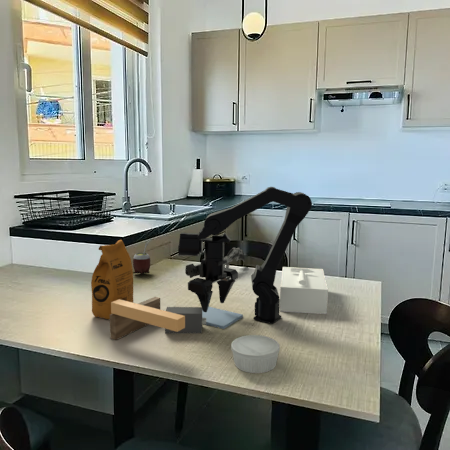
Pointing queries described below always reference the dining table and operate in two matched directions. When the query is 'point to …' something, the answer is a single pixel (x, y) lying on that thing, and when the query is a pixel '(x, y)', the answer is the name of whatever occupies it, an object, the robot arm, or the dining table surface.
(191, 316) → the charcoal wedge block
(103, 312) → the coffee package
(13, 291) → the dining table surface
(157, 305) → the rail
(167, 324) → the tan wooden bar
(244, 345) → the ramekin
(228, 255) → the grey curved piece
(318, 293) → the tissue box
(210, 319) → the pad
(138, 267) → the mate gourd
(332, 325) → the dining table surface
